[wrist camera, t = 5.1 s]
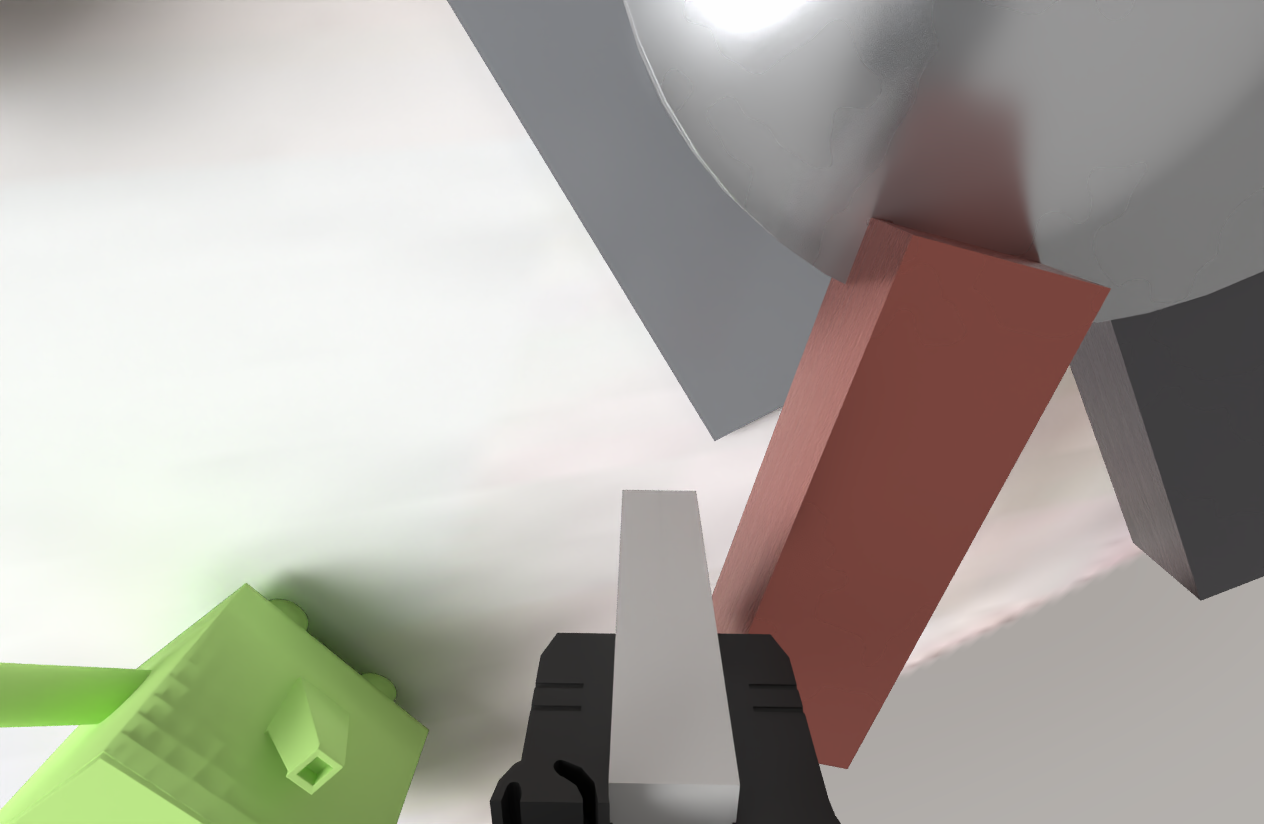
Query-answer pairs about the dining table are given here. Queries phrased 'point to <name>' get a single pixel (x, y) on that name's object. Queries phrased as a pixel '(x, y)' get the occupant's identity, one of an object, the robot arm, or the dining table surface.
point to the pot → (1180, 428)
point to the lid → (946, 266)
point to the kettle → (217, 730)
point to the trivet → (652, 204)
